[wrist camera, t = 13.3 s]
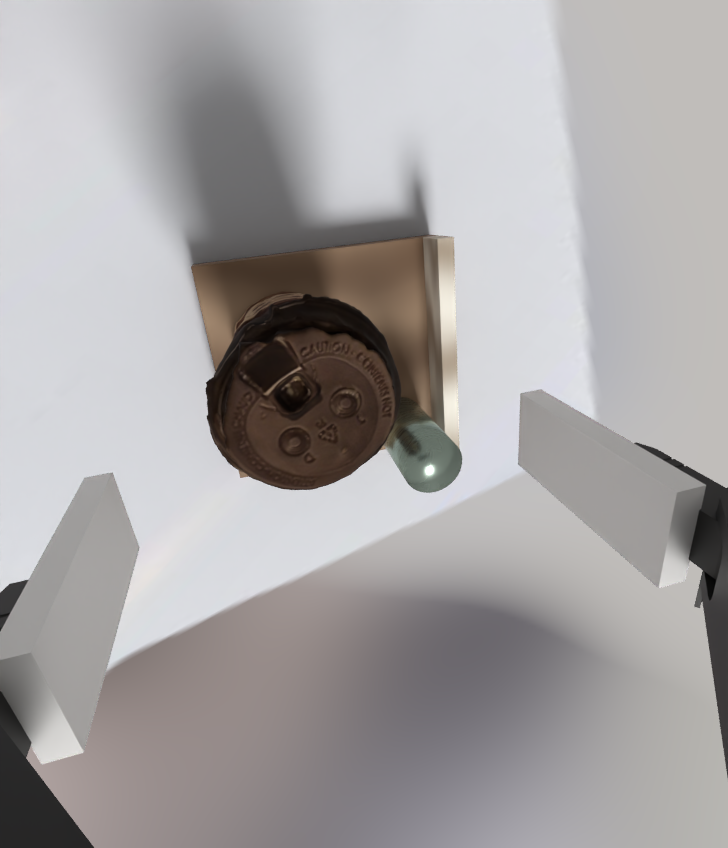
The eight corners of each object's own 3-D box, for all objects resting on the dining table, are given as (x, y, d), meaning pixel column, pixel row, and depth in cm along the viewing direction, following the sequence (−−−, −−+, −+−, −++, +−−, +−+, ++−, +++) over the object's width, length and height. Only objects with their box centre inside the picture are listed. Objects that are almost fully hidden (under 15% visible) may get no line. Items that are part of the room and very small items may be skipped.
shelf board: (193, 264, 30) (187, 271, 26) (429, 234, 32) (453, 237, 29) (240, 467, 36) (240, 496, 32) (438, 429, 38) (459, 451, 34)
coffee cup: (212, 264, 29) (195, 297, 17) (353, 269, 31) (424, 303, 19) (220, 406, 32) (210, 515, 20) (347, 402, 34) (404, 501, 22)
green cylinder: (371, 401, 34) (401, 443, 28) (421, 392, 35) (461, 432, 29) (376, 448, 36) (405, 498, 29) (423, 438, 36) (462, 485, 30)
